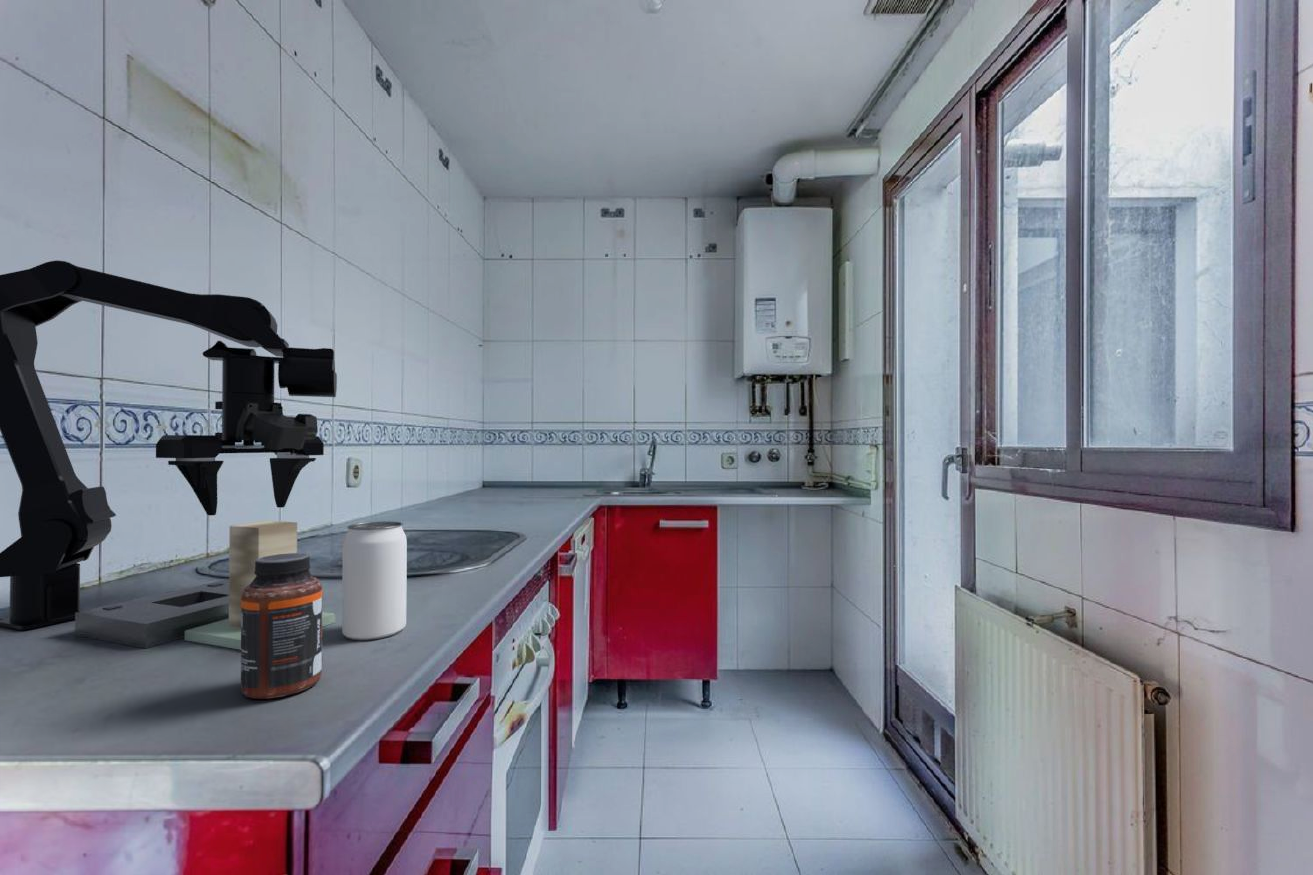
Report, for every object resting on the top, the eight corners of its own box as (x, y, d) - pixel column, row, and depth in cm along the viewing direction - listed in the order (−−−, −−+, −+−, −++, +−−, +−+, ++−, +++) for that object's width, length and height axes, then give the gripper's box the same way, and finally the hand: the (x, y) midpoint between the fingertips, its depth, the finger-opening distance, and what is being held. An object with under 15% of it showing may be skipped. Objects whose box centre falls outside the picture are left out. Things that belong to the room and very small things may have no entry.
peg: (228, 625, 63) (229, 525, 63) (268, 614, 67) (269, 520, 68) (258, 630, 62) (258, 527, 62) (296, 618, 66) (297, 522, 66)
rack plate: (75, 635, 63) (75, 611, 63) (226, 597, 78) (226, 578, 78) (145, 648, 59) (145, 623, 59) (290, 606, 74) (290, 586, 74)
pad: (184, 640, 61) (184, 630, 61) (274, 613, 71) (274, 605, 71) (250, 651, 58) (250, 641, 58) (335, 622, 68) (335, 613, 68)
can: (380, 643, 61) (381, 529, 61) (328, 639, 62) (328, 528, 62) (418, 624, 67) (418, 521, 67) (369, 621, 68) (370, 520, 68)
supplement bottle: (338, 678, 52) (338, 552, 52) (274, 707, 46) (275, 566, 46) (289, 669, 54) (290, 548, 54) (223, 696, 48) (224, 560, 48)
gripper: (216, 386, 65) (215, 523, 65) (352, 398, 83) (352, 506, 83) (153, 389, 69) (152, 518, 69) (296, 400, 87) (295, 503, 87)
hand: (248, 511), depth 77 cm, fingers open, 9 cm apart
